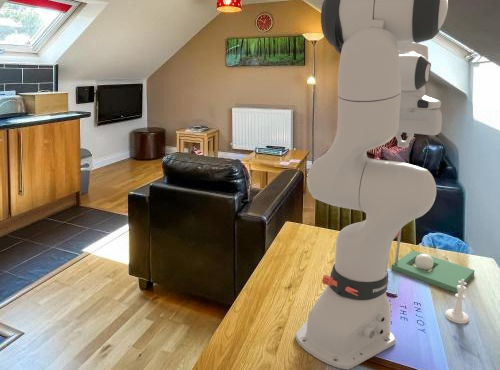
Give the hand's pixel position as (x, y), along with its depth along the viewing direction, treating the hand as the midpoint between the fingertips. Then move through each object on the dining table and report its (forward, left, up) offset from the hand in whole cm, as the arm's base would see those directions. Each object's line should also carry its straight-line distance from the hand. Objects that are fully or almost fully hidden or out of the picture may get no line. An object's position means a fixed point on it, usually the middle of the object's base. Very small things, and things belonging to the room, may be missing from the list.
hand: (402, 146), depth 118 cm
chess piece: (-25, -29, -34) cm, 51 cm away
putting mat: (-9, -16, -34) cm, 39 cm away
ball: (-8, -14, -32) cm, 35 cm away
